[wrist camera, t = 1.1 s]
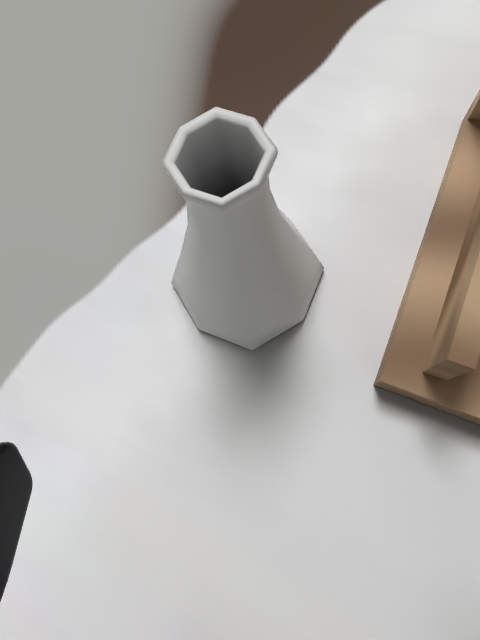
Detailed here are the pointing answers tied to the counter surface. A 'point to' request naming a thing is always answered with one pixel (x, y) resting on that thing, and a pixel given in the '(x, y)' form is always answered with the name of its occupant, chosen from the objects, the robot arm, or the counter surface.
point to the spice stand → (444, 294)
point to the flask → (237, 233)
